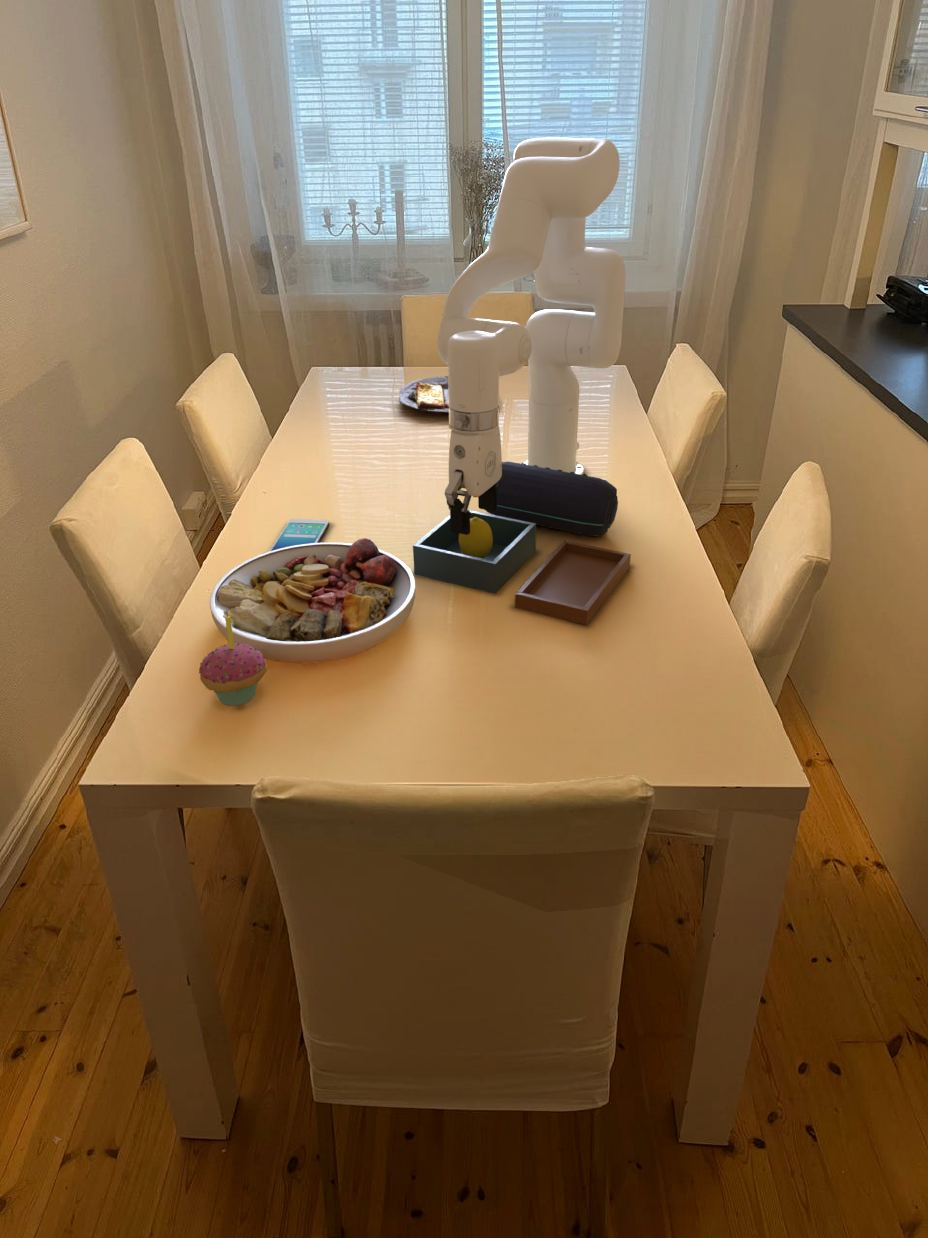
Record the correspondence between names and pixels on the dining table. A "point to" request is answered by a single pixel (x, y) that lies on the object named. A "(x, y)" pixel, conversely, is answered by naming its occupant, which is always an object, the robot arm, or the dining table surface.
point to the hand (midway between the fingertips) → (474, 520)
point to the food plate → (426, 394)
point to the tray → (573, 582)
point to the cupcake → (233, 670)
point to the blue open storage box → (490, 574)
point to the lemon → (477, 539)
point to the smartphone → (301, 533)
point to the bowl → (315, 600)
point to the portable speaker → (556, 499)
